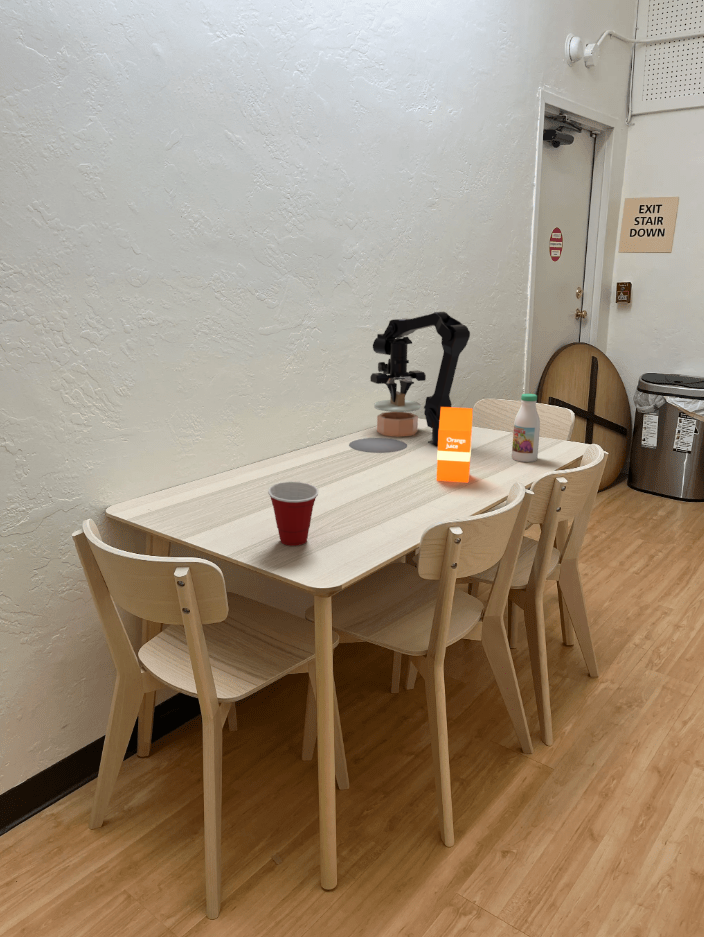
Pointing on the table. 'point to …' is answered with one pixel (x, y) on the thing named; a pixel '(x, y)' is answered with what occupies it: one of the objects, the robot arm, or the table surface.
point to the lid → (397, 404)
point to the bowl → (397, 423)
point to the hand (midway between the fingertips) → (397, 401)
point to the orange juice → (454, 444)
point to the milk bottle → (526, 430)
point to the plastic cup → (293, 510)
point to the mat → (378, 445)
